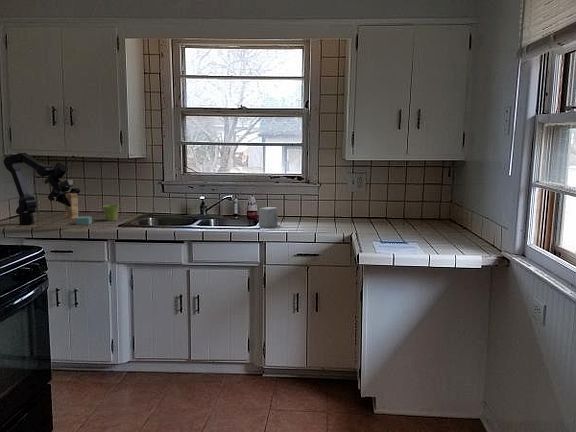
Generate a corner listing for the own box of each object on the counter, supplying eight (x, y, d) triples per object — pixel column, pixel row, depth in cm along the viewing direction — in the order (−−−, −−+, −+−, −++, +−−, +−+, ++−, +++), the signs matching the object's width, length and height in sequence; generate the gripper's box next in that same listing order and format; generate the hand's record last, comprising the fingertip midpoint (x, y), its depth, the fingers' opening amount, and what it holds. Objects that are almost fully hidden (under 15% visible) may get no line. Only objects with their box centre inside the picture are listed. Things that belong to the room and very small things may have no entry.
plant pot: (109, 222, 310) (108, 207, 309) (100, 220, 316) (99, 206, 314) (123, 220, 317) (122, 205, 316) (113, 218, 323) (113, 204, 322)
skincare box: (268, 227, 296) (268, 209, 294) (258, 226, 299) (258, 208, 298) (278, 225, 305) (278, 207, 303) (268, 224, 308) (268, 206, 306)
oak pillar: (65, 218, 285) (64, 193, 283) (71, 216, 289) (70, 193, 287) (72, 218, 283) (71, 194, 281) (78, 217, 287) (77, 193, 285)
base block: (76, 225, 299) (75, 218, 298) (79, 223, 306) (79, 216, 305) (88, 225, 300) (88, 218, 299) (91, 223, 306) (91, 216, 306)
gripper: (50, 175, 275) (68, 197, 273) (77, 173, 293) (93, 194, 290) (40, 189, 279) (57, 211, 277) (66, 186, 297) (83, 207, 294)
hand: (73, 205), depth 284 cm, fingers closed on oak pillar, 4 cm apart
